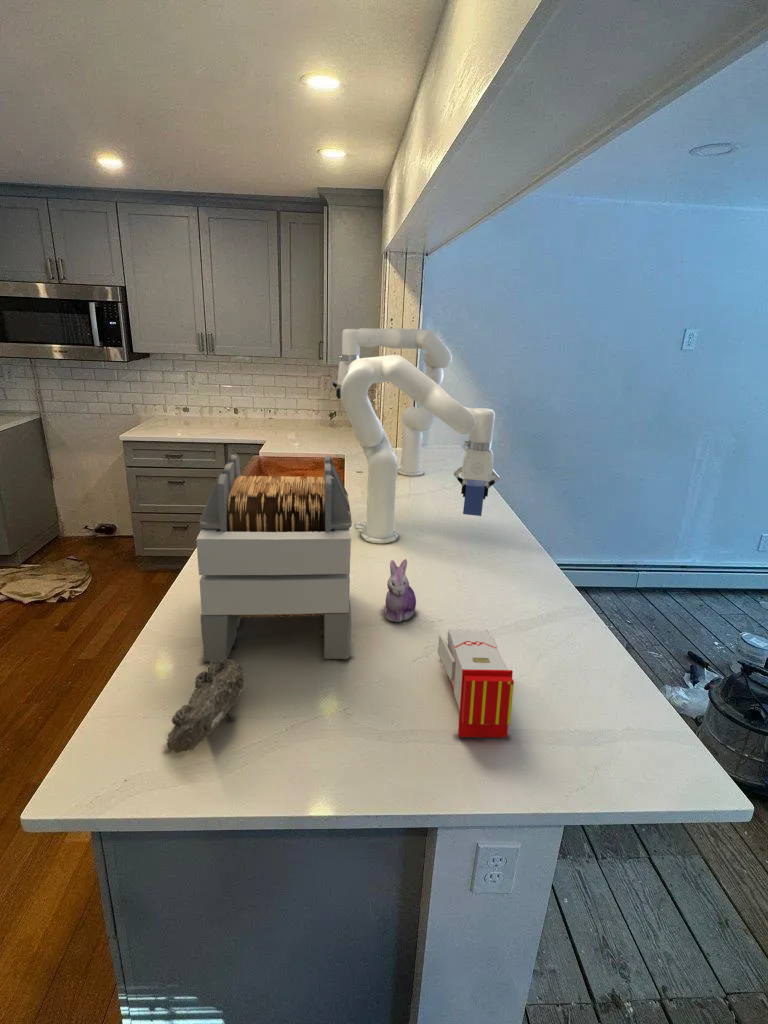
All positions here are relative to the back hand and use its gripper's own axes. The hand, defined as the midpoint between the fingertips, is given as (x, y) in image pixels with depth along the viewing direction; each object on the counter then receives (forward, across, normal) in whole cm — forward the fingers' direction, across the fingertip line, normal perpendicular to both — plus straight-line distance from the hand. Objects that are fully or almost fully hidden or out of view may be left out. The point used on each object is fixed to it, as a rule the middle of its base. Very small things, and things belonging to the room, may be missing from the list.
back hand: (349, 399), depth 249 cm
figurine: (+36, +38, -117) cm, 128 cm away
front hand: (+21, +56, -58) cm, 83 cm away
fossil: (+36, +8, -163) cm, 167 cm away
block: (+27, +56, -58) cm, 85 cm away
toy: (+36, +57, -145) cm, 160 cm away
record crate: (+36, +10, -127) cm, 133 cm away
